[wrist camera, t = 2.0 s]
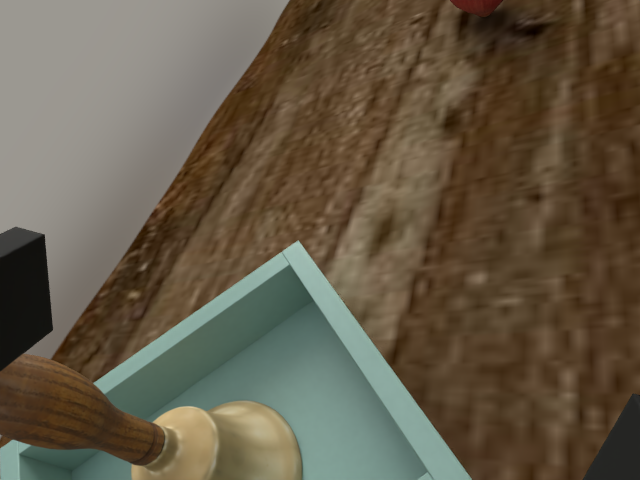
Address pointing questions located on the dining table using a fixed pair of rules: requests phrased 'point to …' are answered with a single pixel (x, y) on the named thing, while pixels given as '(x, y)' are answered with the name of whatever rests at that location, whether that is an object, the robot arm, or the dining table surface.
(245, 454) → the hand bell
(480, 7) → the onion
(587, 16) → the dining table surface
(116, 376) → the open box
